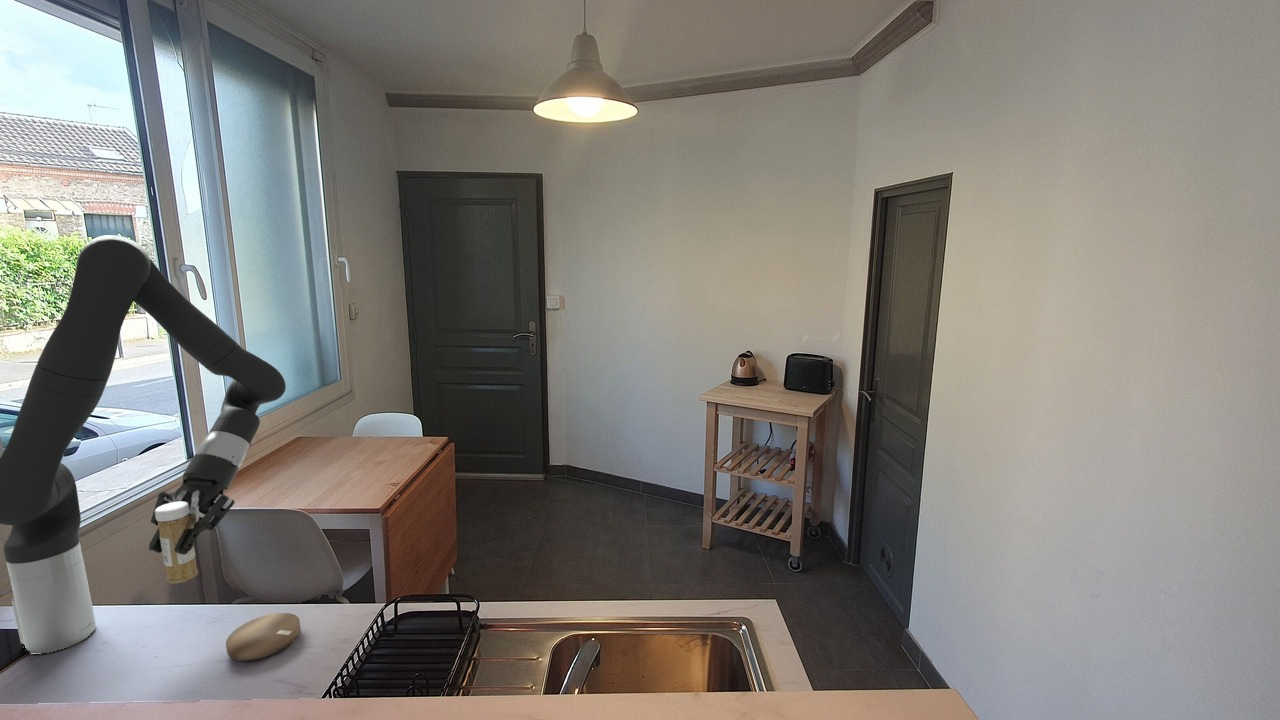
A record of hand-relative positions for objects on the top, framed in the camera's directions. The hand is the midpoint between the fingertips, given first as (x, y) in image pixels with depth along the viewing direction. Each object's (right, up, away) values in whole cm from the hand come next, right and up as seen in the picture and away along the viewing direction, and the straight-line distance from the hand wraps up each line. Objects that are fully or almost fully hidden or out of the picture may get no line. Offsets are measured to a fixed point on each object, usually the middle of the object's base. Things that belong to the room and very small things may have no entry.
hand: (167, 551), depth 100 cm
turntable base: (+15, -18, +3) cm, 23 cm away
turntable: (+15, -16, +3) cm, 22 cm away
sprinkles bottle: (0, -6, +3) cm, 6 cm away
